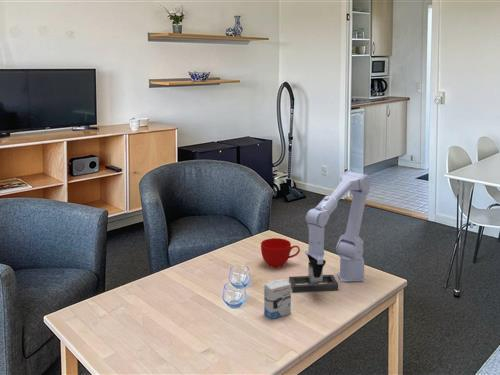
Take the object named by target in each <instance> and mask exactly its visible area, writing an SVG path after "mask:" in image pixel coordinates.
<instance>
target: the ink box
mask: <svg viewBox="0 0 500 375" xmlns="http://www.w3.org/2000/svg"><path fill="white" fill-rule="evenodd" d="M263 291H264V292H263V294H264V295H263V297H264V299H263V300H264V302H263V303H264V304H263V305H264V308H263V310H264V311H263V312H264V313H263V314H264V315H265V316H267V317H268V319H270V320H274V319H278V318H280V317H283V316H287V315H289V314H291V313H292V312H291V311H292V309H291V304H292V289H291V284H290V283H289V280H286V279H285V278H281V279H278V280H274V281H269V282H266V283H265V284H264V287H263Z"/></svg>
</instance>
